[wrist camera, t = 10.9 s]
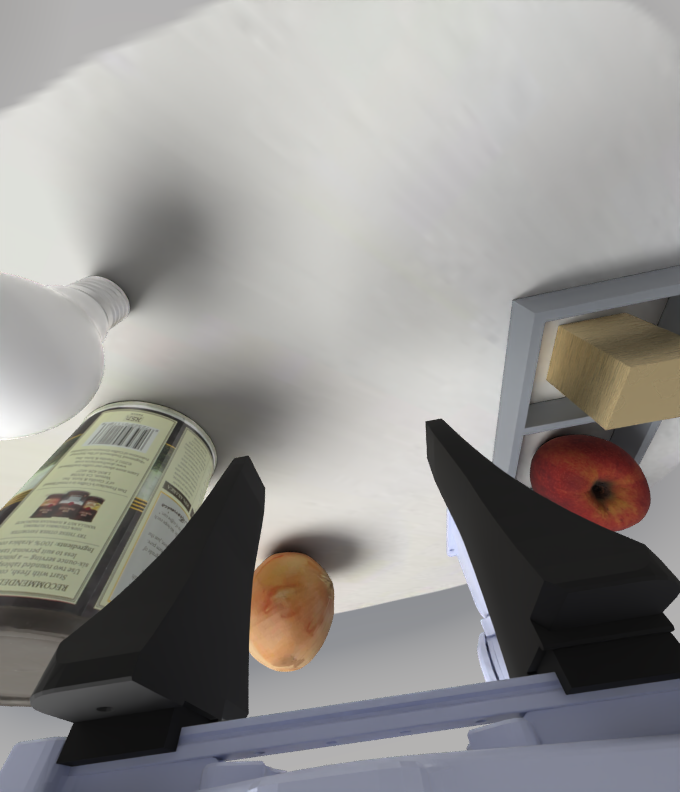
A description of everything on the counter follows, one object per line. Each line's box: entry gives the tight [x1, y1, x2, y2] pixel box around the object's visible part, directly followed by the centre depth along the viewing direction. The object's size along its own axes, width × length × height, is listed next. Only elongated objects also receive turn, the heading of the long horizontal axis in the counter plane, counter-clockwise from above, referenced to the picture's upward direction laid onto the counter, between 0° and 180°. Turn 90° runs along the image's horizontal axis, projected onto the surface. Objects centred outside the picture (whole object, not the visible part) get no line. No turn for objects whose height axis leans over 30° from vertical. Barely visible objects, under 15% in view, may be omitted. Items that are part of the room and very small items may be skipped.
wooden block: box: [546, 313, 680, 430], centre depth 20 cm, size 4×4×6 cm
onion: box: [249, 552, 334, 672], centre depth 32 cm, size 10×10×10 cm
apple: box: [530, 435, 651, 532], centre depth 25 cm, size 7×8×8 cm
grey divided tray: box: [492, 265, 680, 491], centre depth 25 cm, size 21×11×2 cm, turn 11°
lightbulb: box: [0, 272, 130, 440], centre depth 14 cm, size 6×6×11 cm
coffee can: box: [0, 401, 217, 707], centre depth 20 cm, size 10×10×14 cm
